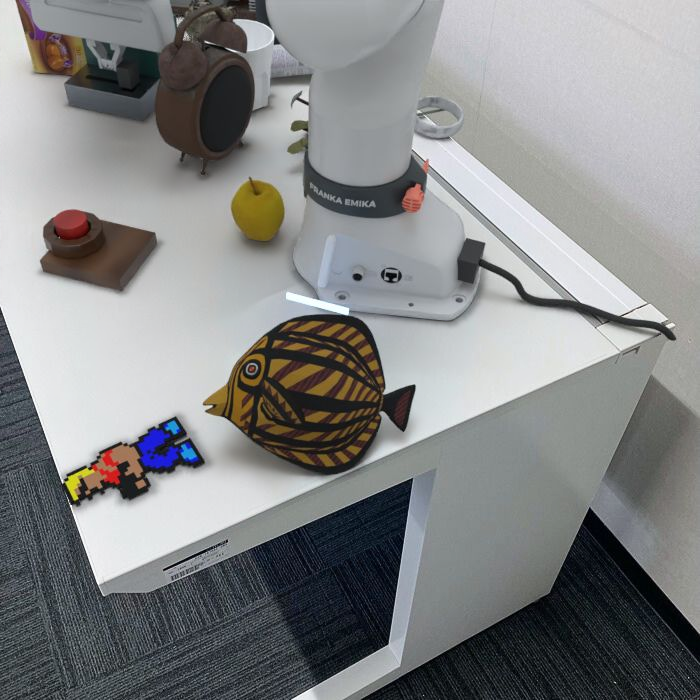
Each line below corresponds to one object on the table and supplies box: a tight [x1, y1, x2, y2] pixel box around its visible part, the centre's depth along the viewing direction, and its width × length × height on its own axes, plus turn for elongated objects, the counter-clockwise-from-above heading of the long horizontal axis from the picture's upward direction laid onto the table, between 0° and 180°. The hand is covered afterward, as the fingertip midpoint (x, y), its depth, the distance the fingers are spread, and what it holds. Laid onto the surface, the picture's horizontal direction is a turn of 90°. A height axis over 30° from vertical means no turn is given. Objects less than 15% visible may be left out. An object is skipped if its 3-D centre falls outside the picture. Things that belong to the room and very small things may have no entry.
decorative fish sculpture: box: [202, 313, 417, 475], centre depth 73 cm, size 14×16×12 cm
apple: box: [230, 176, 286, 242], centre depth 92 cm, size 6×6×8 cm
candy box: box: [15, 0, 87, 76], centre depth 115 cm, size 9×4×15 cm, turn 86°
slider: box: [116, 59, 140, 89], centre depth 110 cm, size 2×3×3 cm
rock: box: [183, 0, 238, 41], centre depth 129 cm, size 6×9×10 cm
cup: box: [204, 19, 274, 112], centre depth 113 cm, size 10×10×10 cm
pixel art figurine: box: [60, 416, 205, 507], centre depth 71 cm, size 6×1×12 cm
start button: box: [54, 208, 89, 240], centre depth 88 cm, size 4×4×2 cm
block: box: [39, 210, 158, 292], centre depth 90 cm, size 11×9×4 cm
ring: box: [414, 95, 465, 139], centre depth 113 cm, size 8×8×2 cm
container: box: [270, 44, 315, 79], centre depth 120 cm, size 5×5×15 cm
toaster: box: [63, 14, 178, 122], centre depth 113 cm, size 12×14×10 cm
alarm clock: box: [154, 5, 255, 177], centre depth 99 cm, size 15×7×20 cm, turn 150°
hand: (111, 68), depth 110 cm, fingers closed
